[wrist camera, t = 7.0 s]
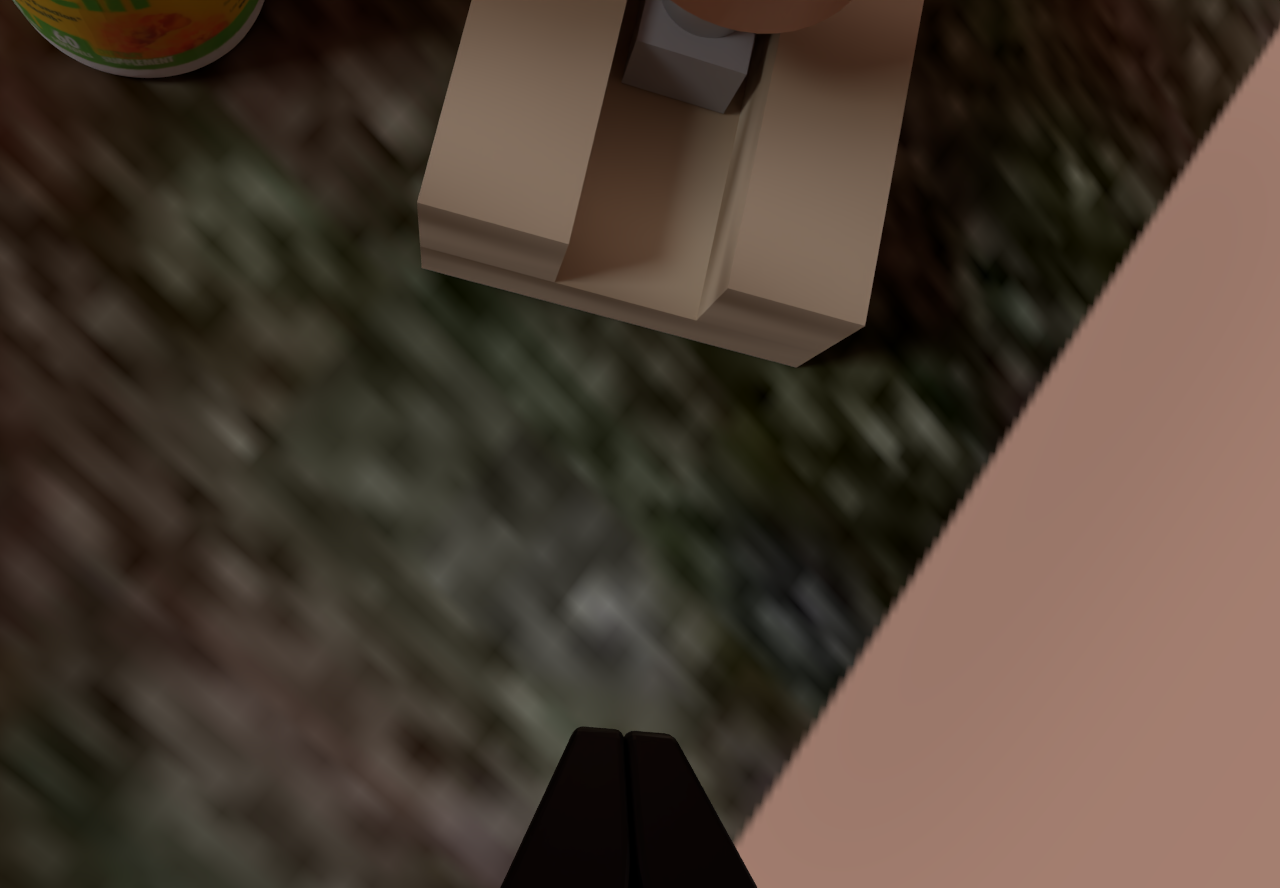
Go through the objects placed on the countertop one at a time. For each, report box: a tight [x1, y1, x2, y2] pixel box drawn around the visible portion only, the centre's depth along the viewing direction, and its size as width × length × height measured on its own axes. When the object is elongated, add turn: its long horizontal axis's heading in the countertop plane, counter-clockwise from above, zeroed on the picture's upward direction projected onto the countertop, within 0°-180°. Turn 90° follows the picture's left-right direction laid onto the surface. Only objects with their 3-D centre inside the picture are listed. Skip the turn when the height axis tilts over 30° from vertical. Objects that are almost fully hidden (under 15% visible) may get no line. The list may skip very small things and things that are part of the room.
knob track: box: [417, 0, 924, 367], centre depth 22 cm, size 9×9×4 cm
